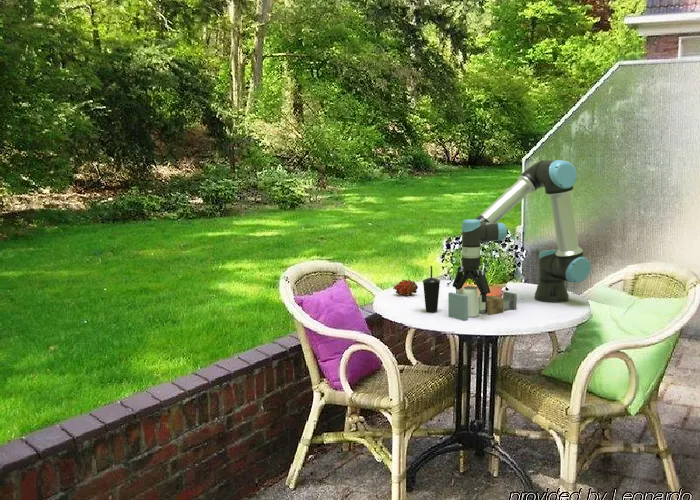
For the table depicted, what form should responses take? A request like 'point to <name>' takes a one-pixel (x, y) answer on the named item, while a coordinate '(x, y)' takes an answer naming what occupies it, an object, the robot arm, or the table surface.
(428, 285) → the drinking cup
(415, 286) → the red pine cone
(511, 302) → the shaft
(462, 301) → the end plate
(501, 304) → the tan wooden block
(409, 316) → the table surface
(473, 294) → the can
